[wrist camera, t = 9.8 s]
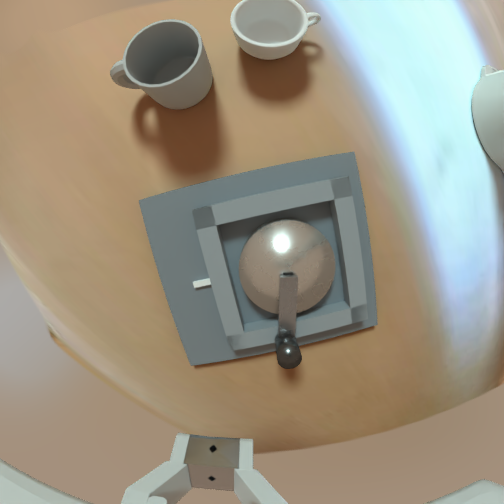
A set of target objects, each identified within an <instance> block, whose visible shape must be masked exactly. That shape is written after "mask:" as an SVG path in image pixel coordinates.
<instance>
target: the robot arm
mask: <svg viewBox="0 0 504 504" xmlns="http://www.w3.org/2000/svg"><path fill="white" fill-rule="evenodd" d="M472 113H473V119H474V123H475V127H476V130H477V133H478V136H479V139H480V141H481V143H482V145H483V147H484V149H485V151H486V152H487V154H488V155H489V157H490V158H491V159H492V160H493V161H494V162H495V163H496V164H497V165H498V166H499V167H500V168H501V170H502V171H503V174H504V70H501V71H499V70H497V69H495V68H493V67H491V66H489V65H485V66H483V67H482V69H481V78H480V80H479V82H478V83H477V84H476V86H475V88H474V91H473V95H472ZM239 446H240V447H239ZM192 487H195V488H205V489H216V490H227V491H234V493H235V494H236V496H237V497H238V499H239V500H240V501H241V503H242V504H288V503H287V502H286V501H285V500H284V499H283V498H282V497H281V496H280V495H279V493H278V492H277V491H276V490H275V489H274V488H273V487H272V486H271V485H270V484H269V483H268V482H267V480H266V479H265V478H264V477H263V476H262V475H261V474H260V472H259V471H258V470H256V469H253V439H240V438H223V437H207V436H199V435H192V434H184V433H178V434H177V436H176V440H175V443H174V447H173V450H172V454H171V457H170V461H169V462H168V461H165V462H164V463H163V464H161V465H160V466H158V467H157V468H156V469H154V470H153V471H151V472H150V473H148V474H147V475H146V476H144V477H143V478H141V479H140V480H138V481H137V482H135V483H134V484H132V485H131V486H130V487H128V488H126V491H125V494H124V497H123V499H122V502H121V504H176V503H177V502H178V501H179V500H180V499H181V498H182V497H183V496H184V495H186V493H188V491H190V490H191V488H192ZM0 504H93V503H90V502H88V501H85V500H82V499H80V498H77V497H75V496H72V495H70V494H67V493H65V492H62V491H60V490H58V489H56V488H54V487H51V486H49V485H47V484H45V483H43V482H41V481H39V480H37V479H35V478H33V477H31V476H29V475H28V474H26V473H24V472H22V471H20V470H18V469H17V468H15V467H13V466H11V465H10V464H8V463H6V462H5V461H3V460H2V459H0ZM425 504H504V486H502V485H500V484H497V483H494V482H492V481H489V480H485V479H482V480H479V481H476V482H474V483H472V484H470V485H468V486H466V487H463V488H461V489H459V490H457V491H455V492H453V493H450V494H448V495H445V496H443V497H440V498H438V499H435V500H433V501H430V502H427V503H425Z"/></svg>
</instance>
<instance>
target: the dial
mask: <svg viewBox="0 0 504 504" xmlns="http://www.w3.org/2000/svg"><path fill="white" fill-rule="evenodd" d="M334 275H335V257H334V253H333V250H332V247H331V245H330V244H329V242H328V240H327V239H326V238H325V236H324V235H323V234H322V233H321V232H320V231H318V230H317V229H315V228H314V227H313V226H311V225H310V224H308V223H306V222H303V221H301V220H297V219H291V218H282V219H276V220H272V221H269V222H267V223H265V224H263V225H261V226H260V227H258V228H257V229H256V230H255V231H254V232H253V233H252V234H251V235H250V236H249V237H248V239H247V240H246V242H245V244H244V246H243V248H242V251H241V254H240V260H239V278H240V282H241V285H242V287H243V289H244V291H245V293H246V295H247V296H248V297H249V298H250V300H251V301H252V302H253V303H255V304H256V305H257V306H259V307H260V308H262V309H264V310H266V311H268V312H271V313H275V314H278V333H277V335H276V336H275V347H276V353H277V360H278V364H279V365H280V366H281V367H283V368H286V369H291V368H295V367H296V366H298V365H299V364H300V362H301V360H302V356H301V352H300V349H299V346H298V342H297V339H296V336H295V327H296V313H299V312H302V311H305V310H307V309H309V308H311V307H312V306H314V305H315V304H317V303H318V302H319V301H320V300H321V299H322V298H323V297H324V296H325V295H326V293H327V292H328V290H329V288H330V287H331V284H332V282H333V279H334Z"/></svg>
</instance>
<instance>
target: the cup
mask: <svg viewBox="0 0 504 504" xmlns="http://www.w3.org/2000/svg"><path fill="white" fill-rule="evenodd" d="M110 75H111V77H112V80H113V81H114V82H115V83H116V84H118V85H120V86H122V87H126V88H131V89H142V90H143V91H144V92H146V93H147V94H148V95H149V96H150V97H151V98H153V99H154V100H155V101H156V102H157V103H159V104H161V105H162V106H164V107H166V108H170V109H185V108H189V107H191V106H193V105H195V104H197V103H199V102H200V101H201V100H202V99H203V98H204V97H205V96H206V95H207V93H208V92H209V90H210V88H211V85H212V79H213V76H212V70H211V66H210V63H209V60H208V57H207V54H206V51H205V48H204V45H203V42H202V39H201V36H200V35H199V33H198V31H197V30H196V29H195V28H194V27H193V26H192V25H191V24H189V23H186V22H184V21H181V20H174V19H170V20H162V21H158V22H155V23H152V24H150V25H148V26H146V27H144V28H143V29H142V30H140V31H139V32H138V33H137V34H136V35H135V36H134V37H133V38H132V39H131V40H130V42H129V43H128V45H127V47H126V49H125V52H124V56H123V60H121V61H118V62H116V63H115V64H114V65H113V67H112V69H111V71H110Z"/></svg>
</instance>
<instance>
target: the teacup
mask: <svg viewBox="0 0 504 504" xmlns="http://www.w3.org/2000/svg"><path fill="white" fill-rule="evenodd" d="M314 17H316V18H315V19H314V20H313V21H310V22H308V20H310V19H311V18H314ZM320 20H321V17H320V15H319V14H318V13H306V11H305V10H304V9H303V7H302V6H301V5H300V4H299V3H297V2H296V1H295V0H242V1H241V2H240V3H238V4H237V5H236V7H235V8H234V9H233V11H232V14H231V26H232V29H233V32H234V35H235V38H236V40H237V42H238V44H239V46H240V47H241V48H242V49H243V50H244V51H245V52H246V53H248V54H249V55H251V56H254V57H256V58H260V59H266V60H273V59H278V58H282V57H285V56H287V55H289V54H290V53H292V52H293V51H294V50H295V49H296V48H297V46H298V44H299V43H300V41H301V39H302V38H303V36H304V35H305V33H306V31H307V28H308V27H310V26H312V25H315V24H317V23H318V22H319V21H320Z"/></svg>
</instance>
